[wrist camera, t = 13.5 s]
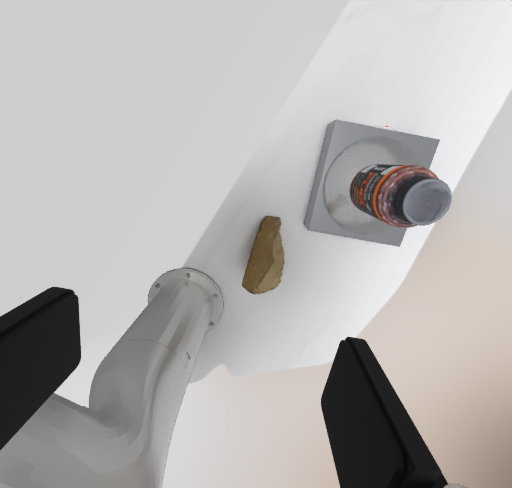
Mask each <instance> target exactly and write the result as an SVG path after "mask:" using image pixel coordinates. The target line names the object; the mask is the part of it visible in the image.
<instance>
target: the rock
mask: <svg viewBox="0 0 512 488" xmlns="http://www.w3.org/2000/svg"><path fill="white" fill-rule="evenodd" d="M280 225H281V220H280V218H278V217H272V216H265V218H264V220H262V222H261V225H260V228H259V231H258V233H257V235H256V239H255V241H254V244H253V247H252V250H251V253H250V259H249V261H248V265H247V267H246V271H245V275H244V277H243V283H242V286H243V287H244V288H245V289H246V290H247V291H249V292H250V293H252V294H261V293H265V292H267V291H269V290H273V289H275V287H277V286H278V284H279V283H280V282H281V281H280V277H281V276H282V270H283V265H284V252H283V247H282V244H281V241H282V240H281V236H280V233H279V229H280Z"/></svg>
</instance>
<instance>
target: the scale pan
mask: <svg viewBox="0 0 512 488" xmlns="http://www.w3.org/2000/svg"><path fill="white" fill-rule="evenodd" d="M377 164H386V165H416V166H420V163H419V160H418V159H417V157H416V155H415V154H414V152H413V151H412V150H411V149H410V148H409V147H408V146H407V145H405V144H404V143H402V142H400V141H398V140H395V139H392V138H387V137H374V138H369V139H365V140H362V141H359V142H357V143H354V144H353V145H351V146H349V147H348V148H346V149H345V150H344V151H343V152H342V153H341V154H340V155H339V156H338V157H337V158H336V159H335V160H334V162H333V163H332V165H331V167H330V169H329V171H328V173H327V176H326V179H325V184H324V199H325V204H326V206H327V209H328V211H329V213H330V215H331V216H332V217H333V219H334V220H335V221H336V222H337V223H339V224H340V225H341V226H342V227H344V228H346V229H347V230H350V231H352V232H355V233H360V234H374V233H379V232H383V231H386V230H388V229H390V228H392V227H394V226H391V225H389V224H387V223H385V222H383V221H381V220H379V219H377V218H375V217H373V216H371V215H369V214H367V213H365V212H363V211H361V210H359V209H358V208H357V207H355V205H354V204H353V203H352V200H351V198H350V185H351V183H352V180H353V179H354V177H355V176H356V174H357V173H358V172H359V171H361V170H362V169H364V168H365V167H368V166H371V165H377Z"/></svg>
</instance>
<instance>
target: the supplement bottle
mask: <svg viewBox="0 0 512 488" xmlns="http://www.w3.org/2000/svg"><path fill="white" fill-rule="evenodd" d="M451 197H452V196H451V191H450V189H449V187H448V185H447V184H446V183H444V182H443V181H441V180H439V179H438V177H437V176H436V175H435V174H434V173H433V172H432V171H431V170H429V169H427V168H425V167H421V166H416V165H386V164H377V165H371V166H368V167H365V168H364V169H362V170H361V171H359V172H358V173H357V174H356V176H355V177H354V179H353V180H352V183H351V185H350V198H351V200H352V203H353V204H354V205H355V207H357V208H358V209H359V210H361V211H363V212H365V213H367V214H369V215H371V216H373V217H375V218H377V219H379V220H381V221H383V222H385V223H387V224H389V225H391V226H394V227H399V228H408V227H414V226H417V225H429V224H432V223H434V222H436V221H438V220H439V219H440V218H442V217H443V216H444V214H445V213H446V212H447V211H448V209H449V207H450V204H451Z"/></svg>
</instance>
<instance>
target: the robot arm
mask: <svg viewBox="0 0 512 488" xmlns="http://www.w3.org/2000/svg"><path fill="white" fill-rule="evenodd" d="M188 273H189V274H190V275H189V274H188ZM215 293H216V294H215ZM222 310H223V298H222V294H221V292H220V290H219V288H218V286H217V285H216V284H215V282H214V281H213V280H211V279H210V278H209V277H208V276H206V275H205V274H203V273H201V272H199V271H196V270H192V269H184V268H180V269H174V270H171V271H168V272H166V273H164V274H162V275H161V276H160V277H159V278H158V279H157V280H156V281H155V282H154V283H153V285H152V286H151V288H150V291H149V295H148V306H147V307H146V308H145V309H144V310H143V312H142V313H141V314H140V315H139V317H138V318H137V319H136V320H135V321H134V323H133V324H132V325H131V326H130V327H129V329H128V330H127V331H126V332H125V334H124V335H123V336H122V337H121V339H120V340H119V341H118V342H117V343H116V345H115V346H114V347H113V348H112V350H111V351H110V352H109V353H108V354H107V356H106V357H105V358H104V360H103V361H102V362H101V364H100V365H99V367H98V369H97V371H96V373H95V375H94V378H93V381H92V385H91V390H90V396H89V408H87V407H85V406H83V407H82V406H80V405H78V404H76V403H74V402H71V401H70V400H68V399H65V398H63V397H61V396H59V395H57V394H55V393H54V392H55V391H56V390H57V388H58V387H59V386H60V385H61V384H62V383H63V382H64V381H65V380H66V379H67V378H68V376H69V375H70V374H71V373H72V372H73V371H74V370H75V369H76V368H77V366H78V364H79V362H80V359H81V345H80V324H79V304H78V297H77V295H75V294H74V292H73V290H70V289H64V288H59V287H51V288H49V289H47V290H45V291H44V292H42V293H40V294H39V295H37V296H35V297H33V298H32V299H30V300H28V301H27V302H25V303H23V304H22V305H20V306H18V307H16V308H15V309H13V310H11V311H9V312H8V313H6V314H4V315H2V316H1V317H0V488H162V484H163V478H164V472H165V466H166V460H167V455H168V450H169V445H170V440H171V436H172V433H173V429H174V425H175V422H176V418H177V415H178V412H179V408H180V405H181V403H182V400H183V396H184V394H185V391H186V388H187V385H188V382H189V379H190V376H191V373H192V370H193V368H194V365H195V362H196V359H197V356H198V353H199V350H200V347H201V344H202V341H203V339H204V336H205V333H206V332H208V331H209V330H211V329H212V328H213V327H214V326H215V325H216V324H217V323H218V321H219V319H220V317H221V314H222ZM321 407H322V411H323V416H324V420H325V424H326V428H327V433H328V437H329V441H330V445H331V450H332V454H333V458H334V462H335V466H336V471H337V475H338V479H339V483H340V488H468V487H465V486H463V485H460V484H448V483H447V481H446V479H445V478H444V476H443V474H442V473H441V470H440V468H439V466H438V465H437V463H436V462H435V460H434V458H433V456H432V454H431V453H430V451H429V449H428V447H427V446H426V444H425V442H424V441H423V439H422V437H421V435H420V434H419V432H418V430H417V428H416V427H415V425H414V423H413V421H412V420H411V418H410V416H409V415H408V413H407V411H406V409H405V408H404V406H403V404H402V403H401V401H400V399H399V397H398V396H397V394H396V392H395V390H394V389H393V387H392V385H391V384H390V382H389V380H388V378H387V377H386V375H385V373H384V371H383V370H382V368H381V366H380V364H379V363H378V361H377V359H376V358H375V356H374V354H373V352H372V351H371V349H370V347H369V345H368V344H367V342H366V341H365V340H364V339H358V338H352V337H347V338H346V339H345V340H342V341H341V342H340V344H339V347H338V350H337V353H336V356H335V359H334V362H333V365H332V368H331V370H330V373H329V377H328V379H327V382H326V385H325V388H324V391H323V394H322V398H321Z"/></svg>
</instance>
